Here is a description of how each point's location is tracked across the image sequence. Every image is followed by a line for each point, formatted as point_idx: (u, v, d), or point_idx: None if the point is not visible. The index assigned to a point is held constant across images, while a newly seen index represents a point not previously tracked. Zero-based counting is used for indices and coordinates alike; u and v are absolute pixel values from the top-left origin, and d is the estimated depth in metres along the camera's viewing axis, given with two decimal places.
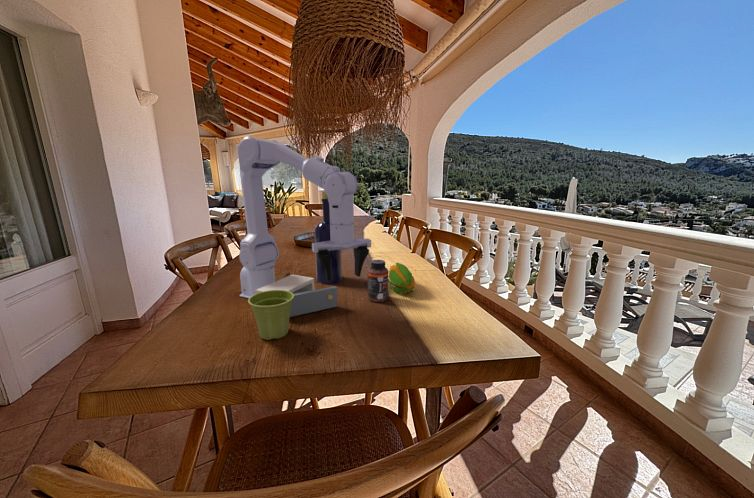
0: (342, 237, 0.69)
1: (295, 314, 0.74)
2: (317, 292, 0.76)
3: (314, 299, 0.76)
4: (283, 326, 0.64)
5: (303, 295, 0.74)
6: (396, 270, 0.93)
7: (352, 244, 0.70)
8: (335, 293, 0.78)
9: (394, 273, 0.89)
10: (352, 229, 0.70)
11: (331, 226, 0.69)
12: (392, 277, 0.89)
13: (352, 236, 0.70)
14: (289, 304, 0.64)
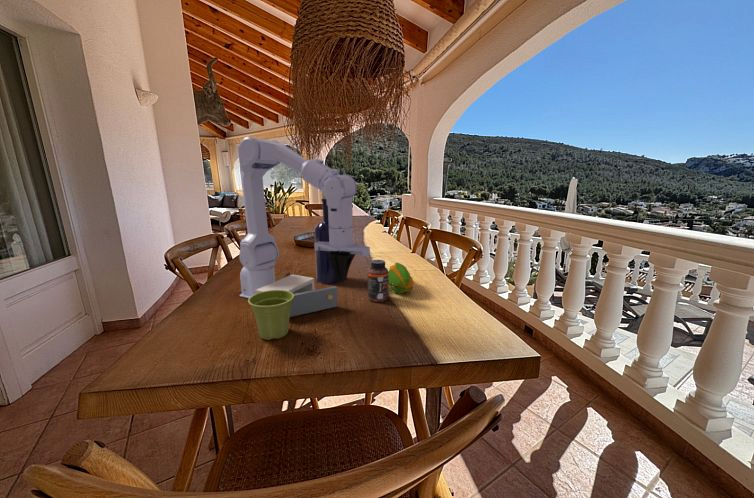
0: (331, 240, 0.69)
1: (295, 314, 0.74)
2: (317, 292, 0.76)
3: (314, 299, 0.76)
4: (283, 326, 0.64)
5: (303, 295, 0.74)
6: (395, 270, 0.93)
7: (341, 249, 0.68)
8: (335, 293, 0.78)
9: (392, 273, 0.89)
10: (343, 234, 0.68)
11: None
12: (390, 277, 0.89)
13: (343, 241, 0.68)
14: (289, 304, 0.64)
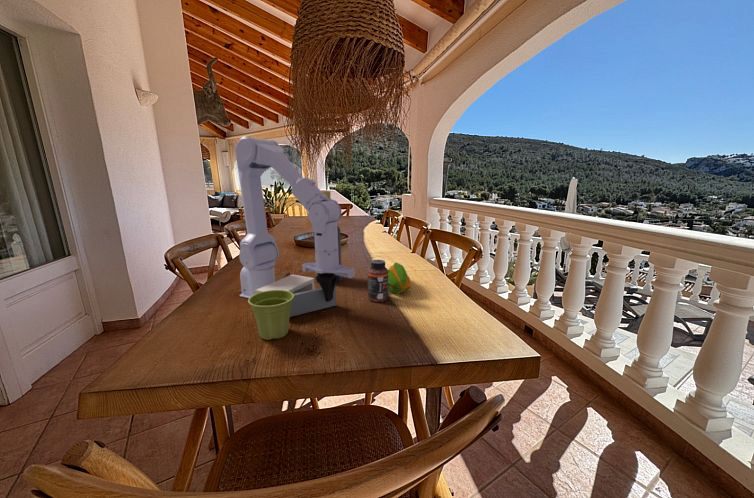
0: (318, 262, 0.72)
1: (295, 314, 0.74)
2: (316, 291, 0.76)
3: (314, 298, 0.76)
4: (283, 326, 0.64)
5: (303, 295, 0.74)
6: (393, 270, 0.93)
7: (327, 271, 0.72)
8: (334, 292, 0.79)
9: (390, 273, 0.89)
10: (329, 256, 0.71)
11: None
12: (388, 277, 0.89)
13: (329, 263, 0.72)
14: (289, 304, 0.64)
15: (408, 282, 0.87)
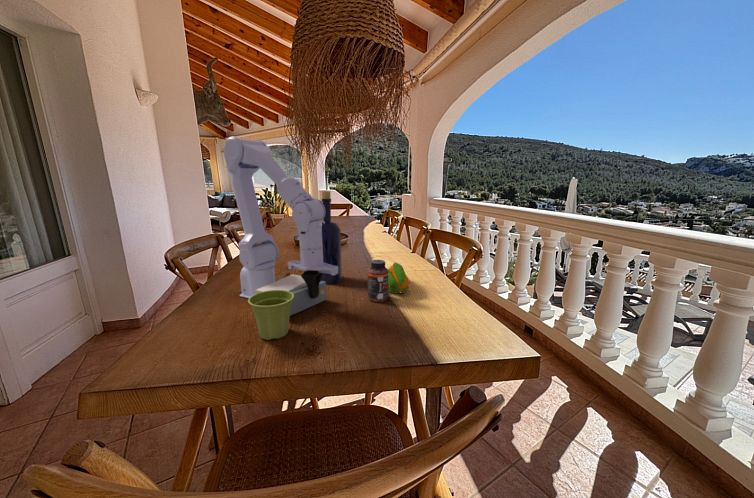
0: (302, 260, 0.74)
1: (294, 312, 0.75)
2: None
3: (308, 295, 0.78)
4: (283, 326, 0.64)
5: (300, 292, 0.76)
6: (392, 270, 0.93)
7: (311, 268, 0.73)
8: (324, 287, 0.83)
9: (388, 272, 0.90)
10: (313, 254, 0.73)
11: None
12: None
13: (313, 261, 0.73)
14: (289, 304, 0.64)
15: (406, 282, 0.87)
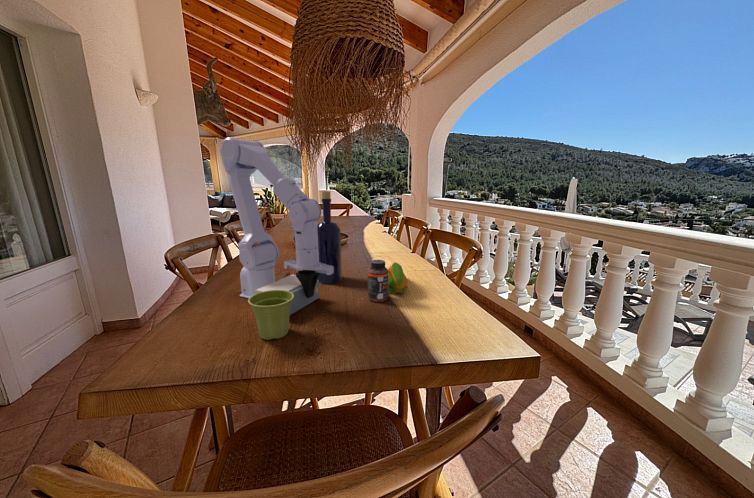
0: (298, 260, 0.74)
1: (293, 312, 0.75)
2: None
3: None
4: (283, 326, 0.64)
5: (297, 292, 0.76)
6: (391, 270, 0.93)
7: (306, 268, 0.74)
8: (317, 285, 0.84)
9: None
10: (308, 254, 0.74)
11: None
12: None
13: (308, 261, 0.74)
14: (289, 304, 0.64)
15: (404, 282, 0.87)
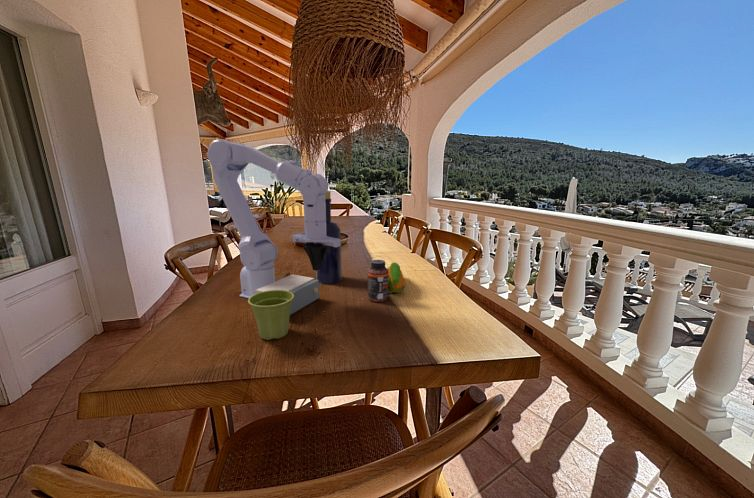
0: (306, 232, 0.77)
1: (293, 312, 0.75)
2: (306, 287, 0.79)
3: (305, 294, 0.79)
4: (283, 326, 0.64)
5: (297, 292, 0.76)
6: (389, 269, 0.93)
7: (315, 240, 0.77)
8: (317, 285, 0.84)
9: None
10: (316, 227, 0.76)
11: None
12: None
13: (316, 233, 0.77)
14: (289, 304, 0.64)
15: (401, 282, 0.87)
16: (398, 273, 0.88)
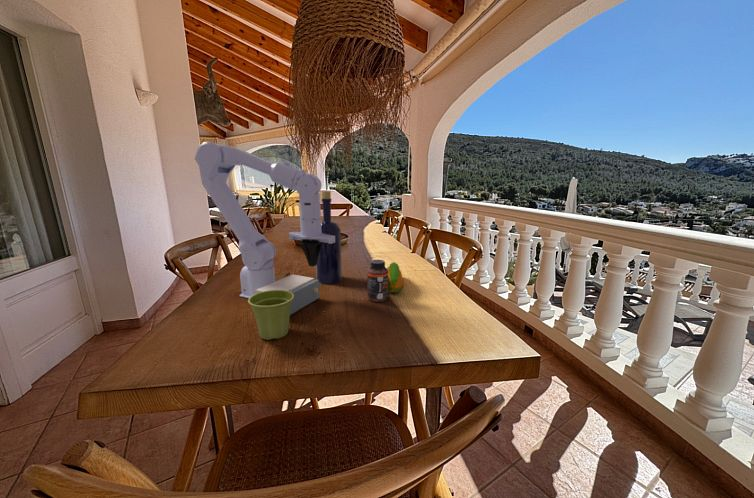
0: (302, 229, 0.81)
1: (293, 312, 0.75)
2: (306, 287, 0.79)
3: (305, 294, 0.79)
4: (283, 326, 0.64)
5: (297, 292, 0.76)
6: (388, 269, 0.94)
7: (310, 237, 0.80)
8: (317, 285, 0.84)
9: None
10: (312, 224, 0.80)
11: None
12: None
13: (312, 230, 0.80)
14: (289, 304, 0.64)
15: (400, 282, 0.87)
16: (397, 273, 0.88)
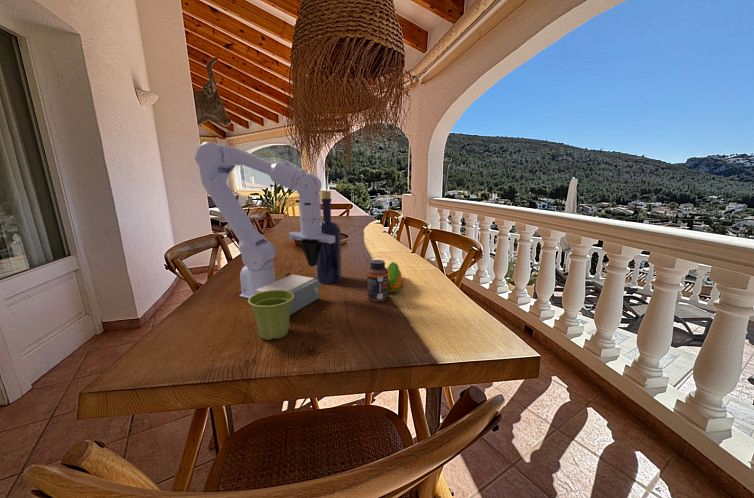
0: (302, 229, 0.81)
1: (293, 312, 0.75)
2: (306, 287, 0.79)
3: (305, 294, 0.79)
4: (283, 326, 0.64)
5: (297, 292, 0.76)
6: (388, 269, 0.94)
7: (310, 237, 0.80)
8: (317, 285, 0.84)
9: None
10: (312, 224, 0.80)
11: None
12: None
13: (312, 230, 0.80)
14: (289, 304, 0.64)
15: (399, 282, 0.87)
16: (396, 273, 0.88)
